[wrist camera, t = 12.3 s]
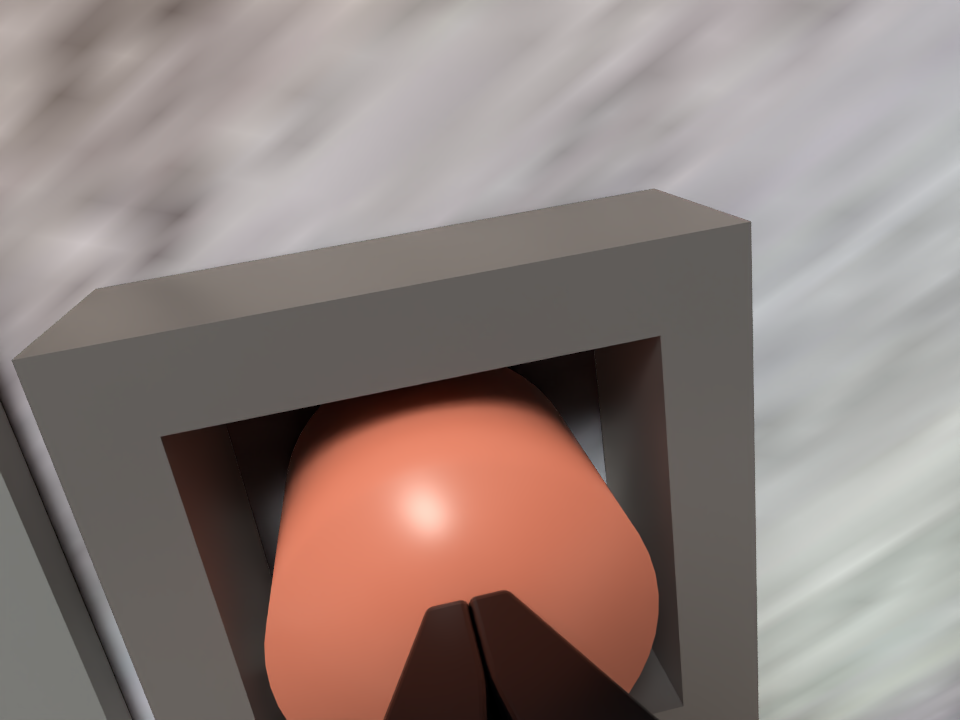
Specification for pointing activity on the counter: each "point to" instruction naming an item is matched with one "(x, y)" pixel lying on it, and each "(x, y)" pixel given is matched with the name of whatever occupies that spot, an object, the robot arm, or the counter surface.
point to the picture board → (44, 613)
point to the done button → (443, 539)
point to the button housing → (402, 363)
